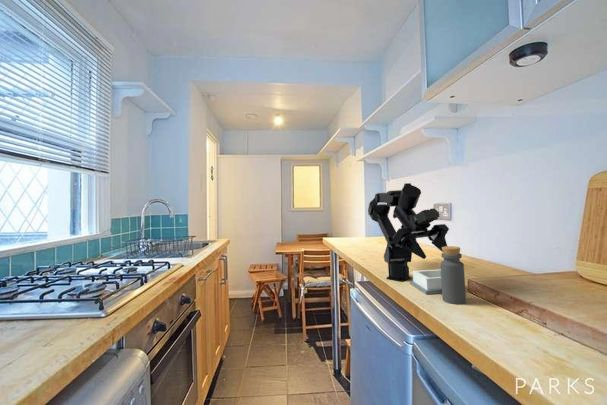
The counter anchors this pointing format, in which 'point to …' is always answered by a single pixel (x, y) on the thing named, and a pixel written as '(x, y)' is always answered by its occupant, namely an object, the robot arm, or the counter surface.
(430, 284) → the holder
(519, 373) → the counter surface
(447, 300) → the bottle
